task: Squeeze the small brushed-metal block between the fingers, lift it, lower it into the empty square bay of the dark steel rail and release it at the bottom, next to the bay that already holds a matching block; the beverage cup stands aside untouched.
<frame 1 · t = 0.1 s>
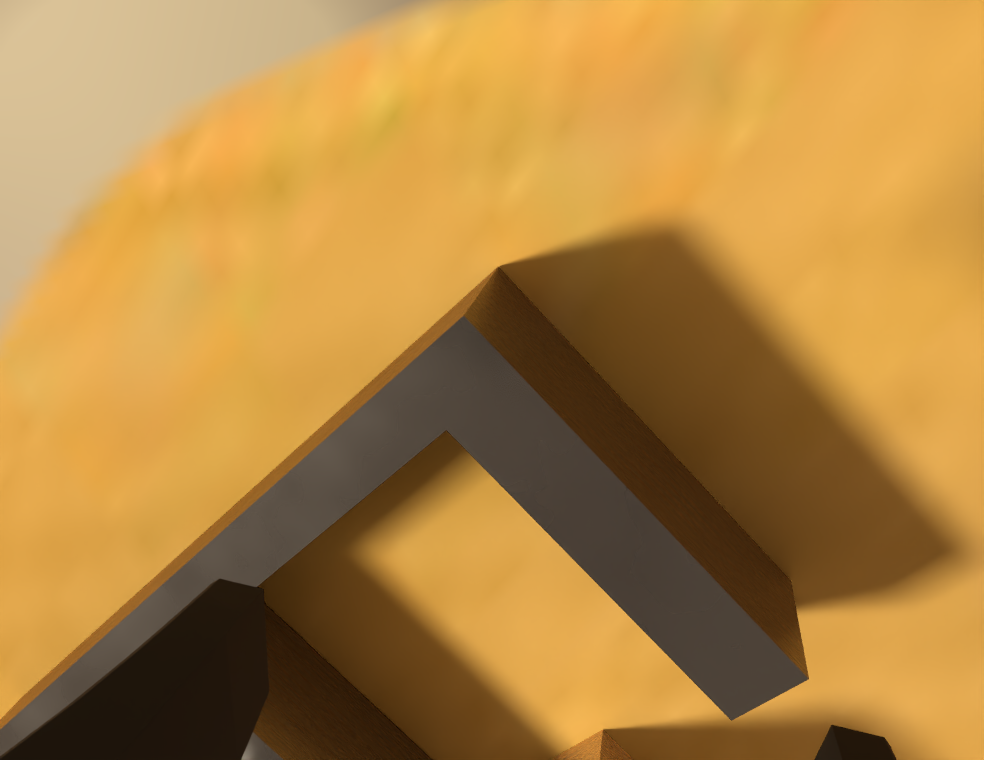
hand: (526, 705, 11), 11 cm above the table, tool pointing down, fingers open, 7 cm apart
rail: (332, 630, 25), on the table
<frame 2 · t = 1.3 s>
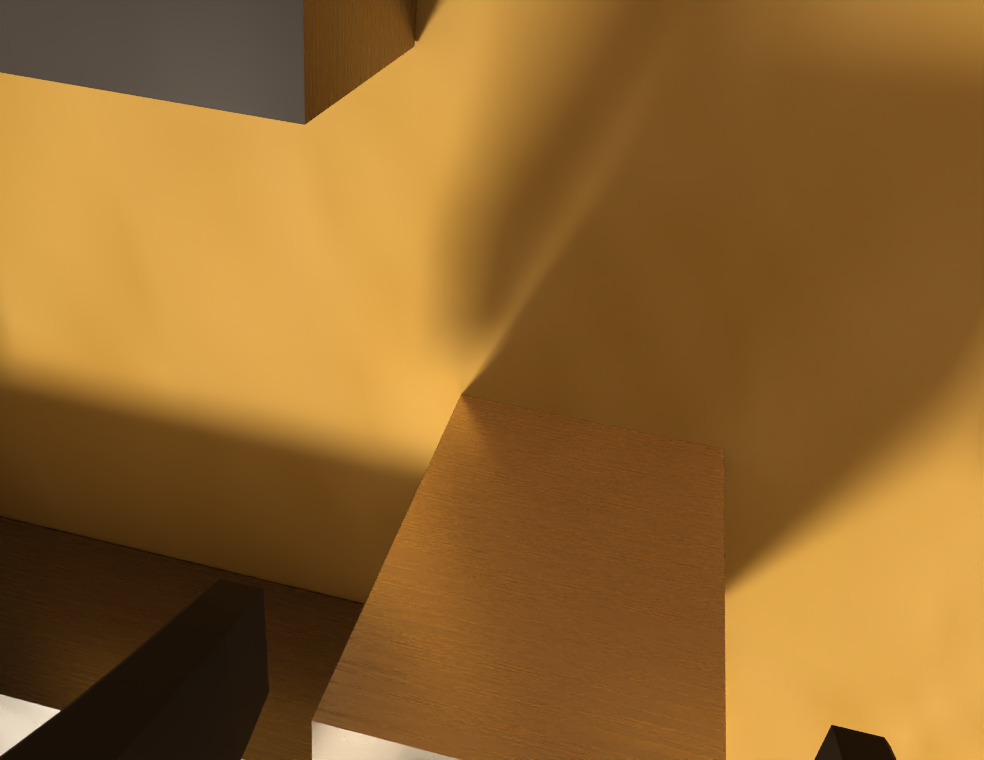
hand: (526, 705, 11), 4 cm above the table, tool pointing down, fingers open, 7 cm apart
rail: (78, 498, 17), on the table
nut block: (570, 521, 14), on the table
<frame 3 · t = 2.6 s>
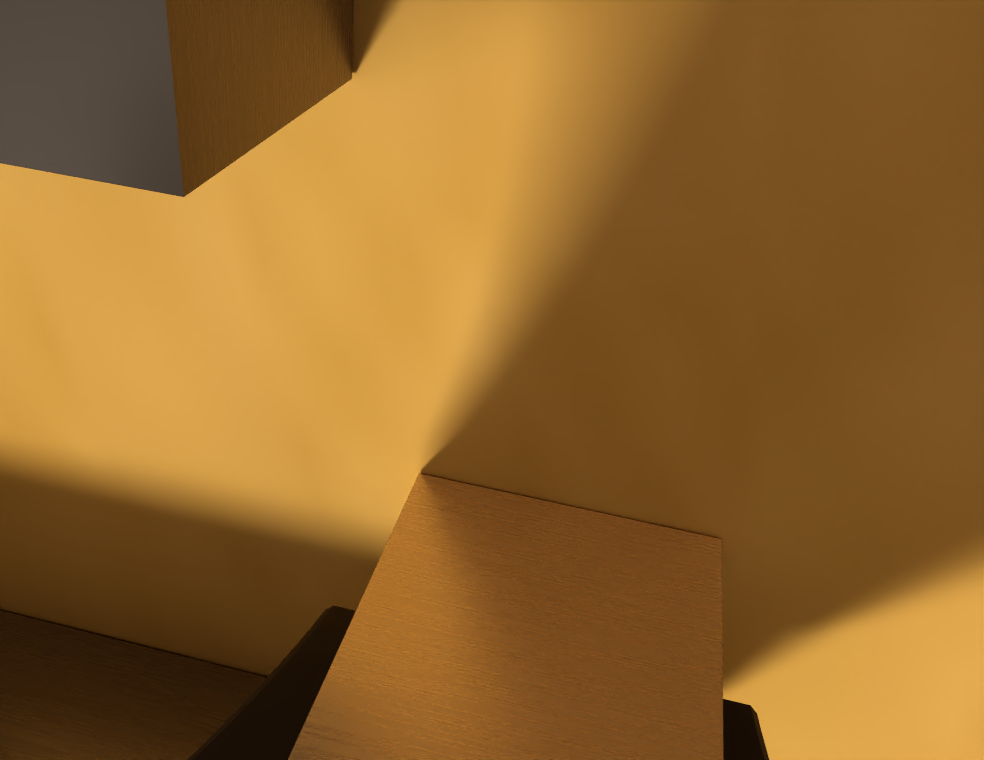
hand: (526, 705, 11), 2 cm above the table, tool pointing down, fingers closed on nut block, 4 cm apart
rail: (0, 571, 15), on the table
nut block: (546, 611, 13), on the table, touching gripper
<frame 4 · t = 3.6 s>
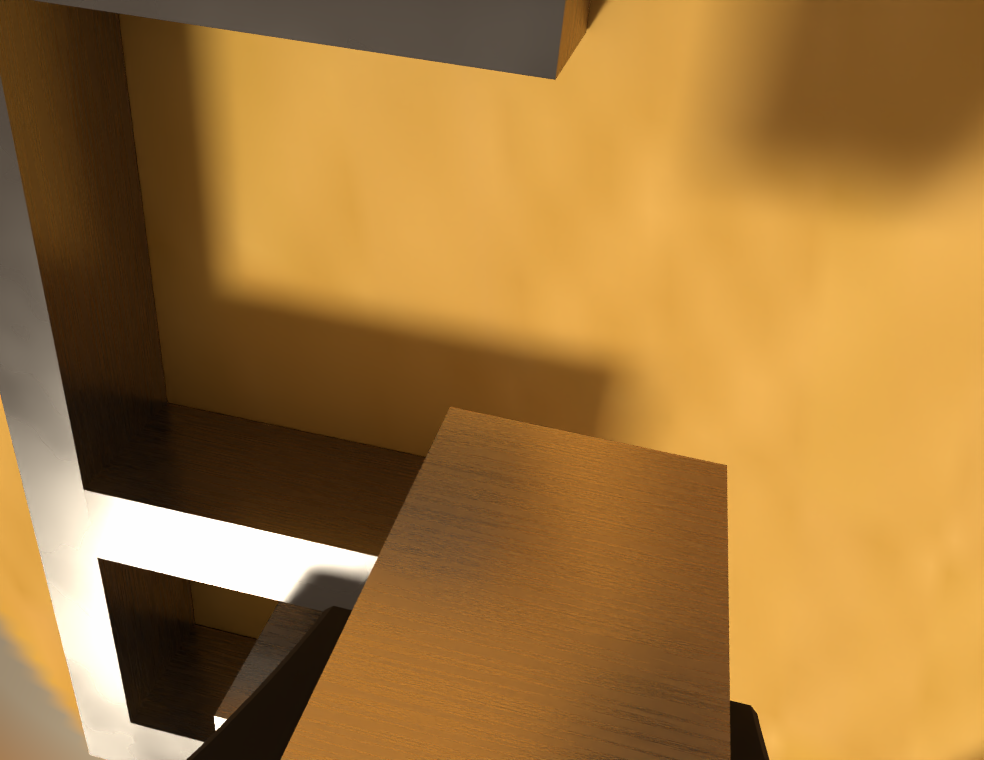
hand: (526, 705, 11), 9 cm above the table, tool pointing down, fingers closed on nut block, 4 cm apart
seated block: (393, 596, 24), on the table
rail: (279, 392, 21), on the table
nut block: (565, 540, 14), point 6 cm above the table, touching gripper
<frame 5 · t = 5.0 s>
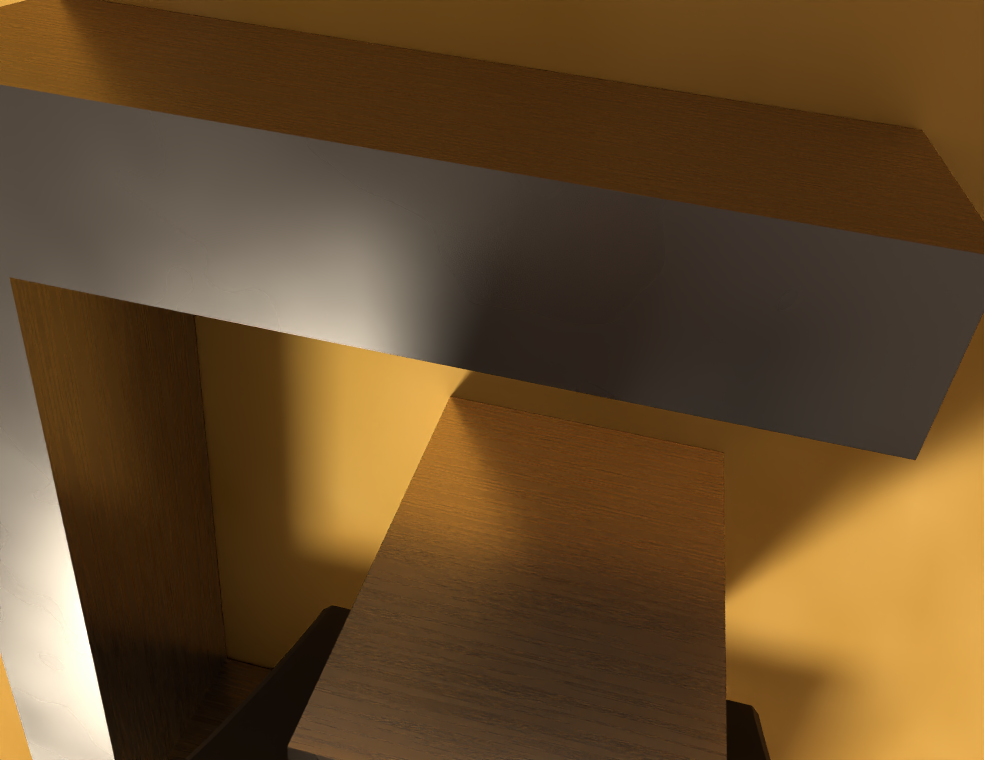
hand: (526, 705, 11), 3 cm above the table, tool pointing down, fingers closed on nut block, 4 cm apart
rail: (374, 660, 17), on the table
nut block: (564, 526, 14), on the table, touching gripper
when the fingers open (3 cm above the table, at t = 5.9 s): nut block stays where it is, on the table.
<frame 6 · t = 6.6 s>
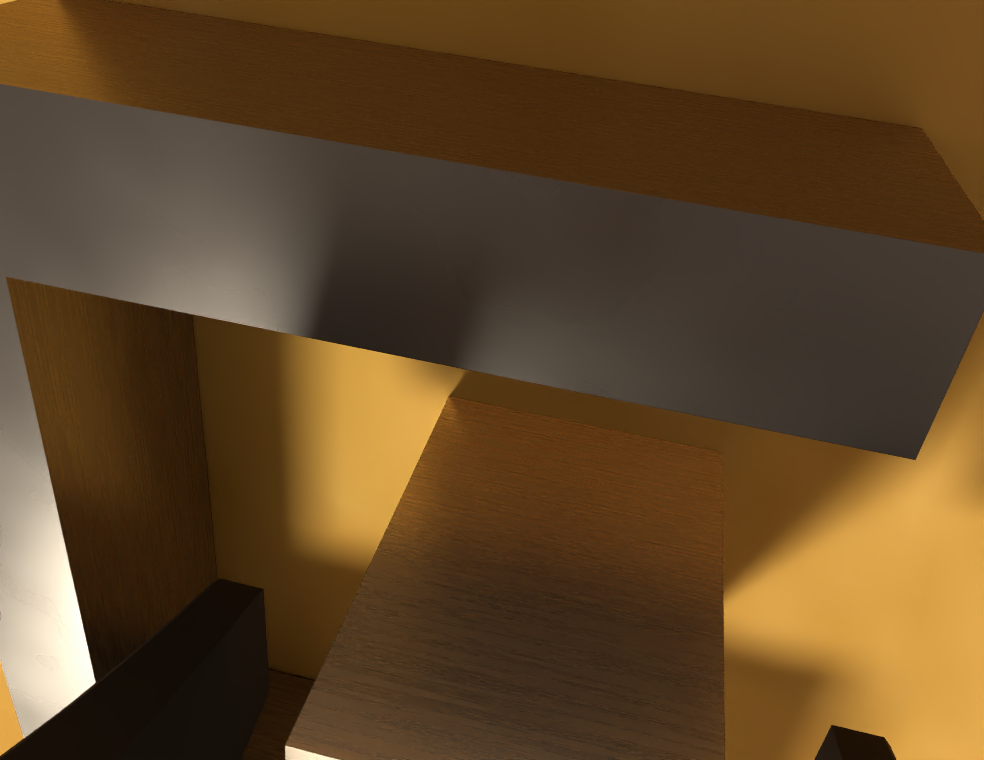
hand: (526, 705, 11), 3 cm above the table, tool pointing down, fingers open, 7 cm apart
rail: (372, 660, 17), on the table
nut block: (563, 526, 14), on the table
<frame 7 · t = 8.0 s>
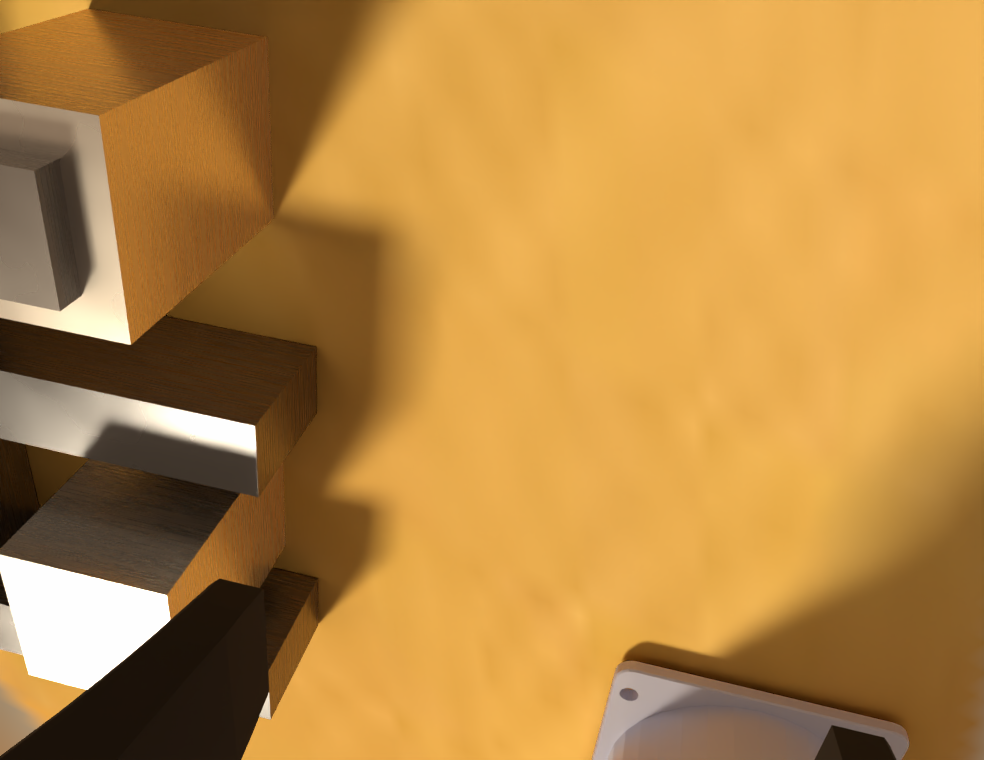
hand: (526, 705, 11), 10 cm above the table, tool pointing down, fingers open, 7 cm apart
seated block: (217, 476, 25), on the table
rail: (87, 266, 22), on the table
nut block: (185, 118, 20), on the table
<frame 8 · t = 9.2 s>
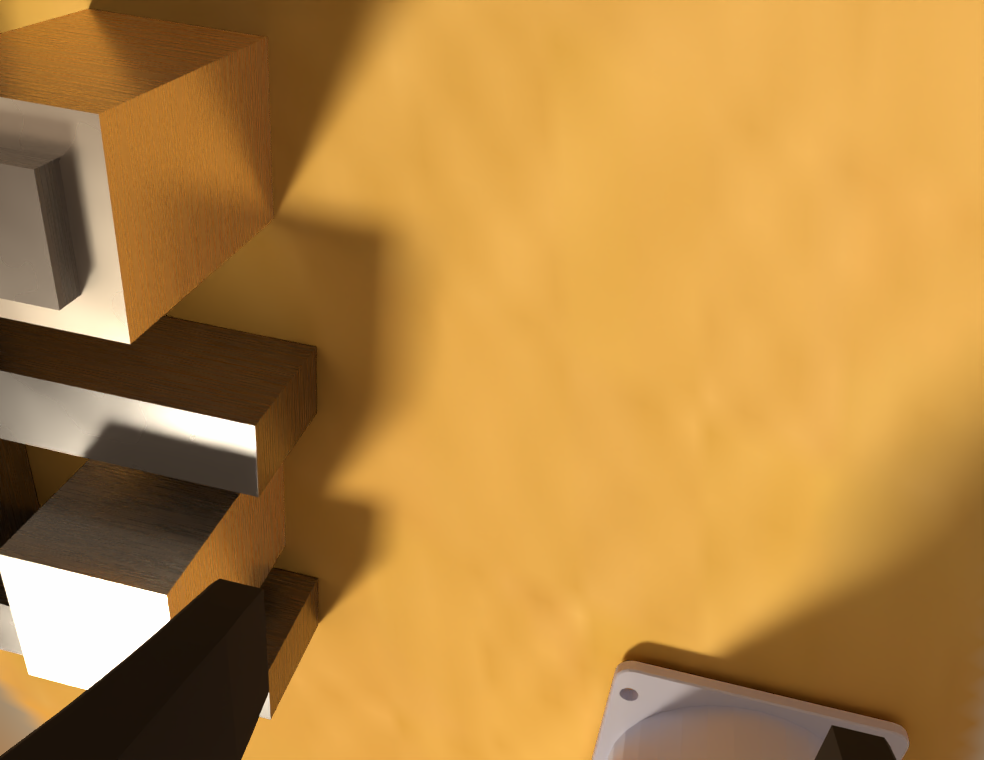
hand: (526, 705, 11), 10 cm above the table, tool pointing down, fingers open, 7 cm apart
seated block: (217, 476, 25), on the table
rail: (87, 266, 22), on the table
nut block: (185, 118, 20), on the table
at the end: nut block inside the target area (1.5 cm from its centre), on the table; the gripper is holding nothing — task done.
